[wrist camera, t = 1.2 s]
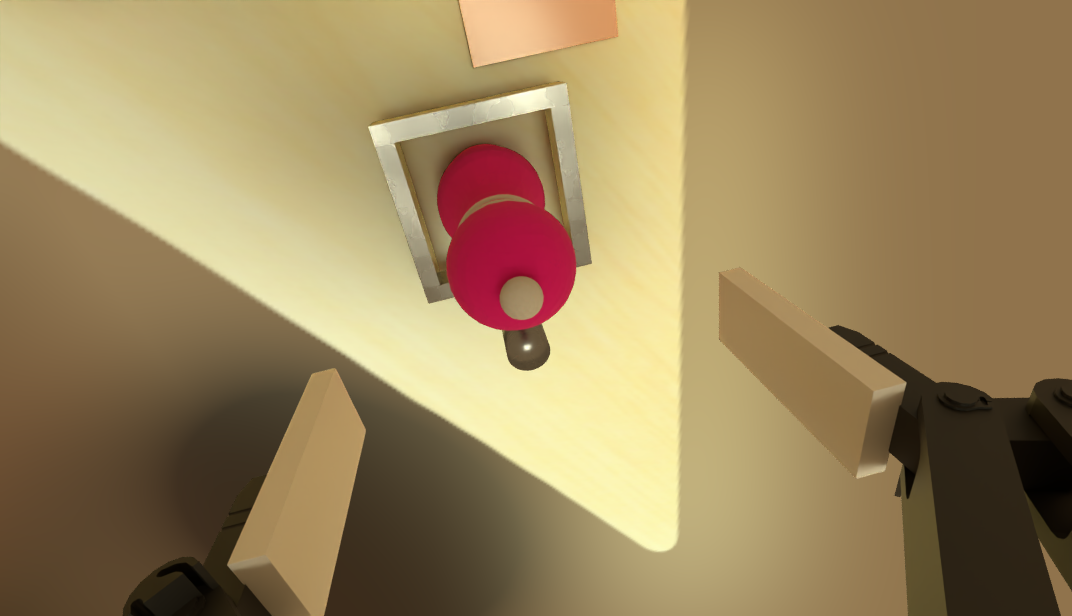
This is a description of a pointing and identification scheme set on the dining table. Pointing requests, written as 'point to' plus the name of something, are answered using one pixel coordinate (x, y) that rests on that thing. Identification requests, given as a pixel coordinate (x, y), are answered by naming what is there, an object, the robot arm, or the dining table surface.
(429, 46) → the dining table surface
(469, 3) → the terracotta tile
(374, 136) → the square frame with post
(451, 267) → the pepper mill
